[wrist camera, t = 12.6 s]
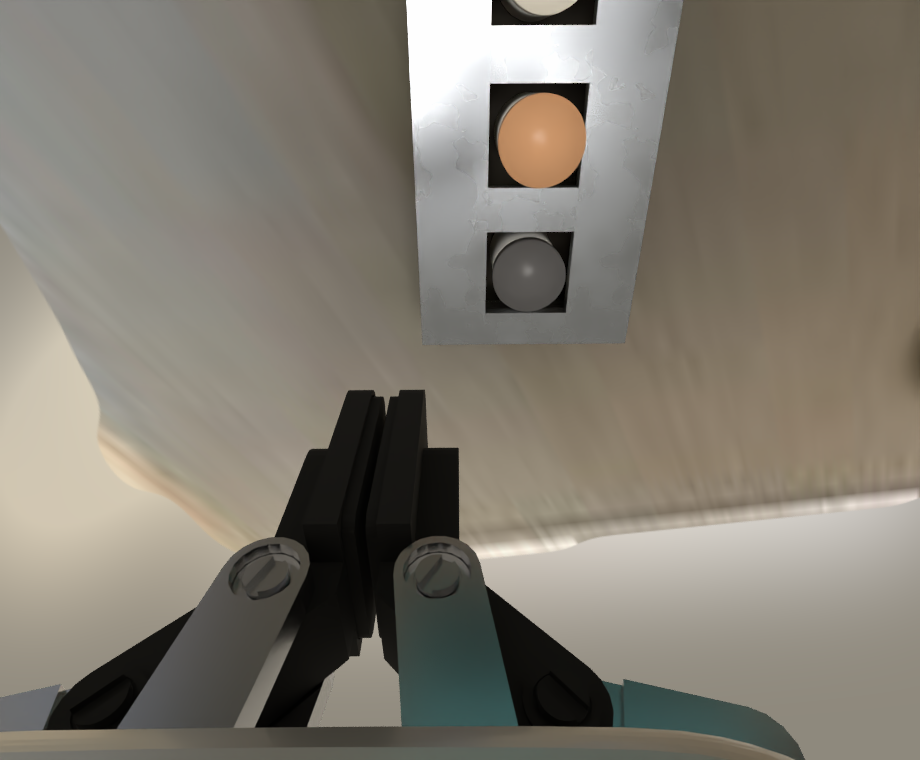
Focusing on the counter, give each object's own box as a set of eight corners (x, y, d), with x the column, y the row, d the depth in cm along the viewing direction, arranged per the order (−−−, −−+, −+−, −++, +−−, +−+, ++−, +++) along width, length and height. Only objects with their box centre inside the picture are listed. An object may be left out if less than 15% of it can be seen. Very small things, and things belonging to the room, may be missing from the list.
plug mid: (569, 89, 32) (591, 92, 27) (562, 170, 34) (581, 188, 29) (493, 90, 32) (500, 93, 27) (491, 170, 34) (497, 188, 29)
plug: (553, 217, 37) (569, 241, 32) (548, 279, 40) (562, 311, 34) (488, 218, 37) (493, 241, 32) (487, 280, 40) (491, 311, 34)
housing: (667, -139, 28) (715, -187, 23) (603, 309, 42) (624, 343, 36) (408, -138, 28) (397, -185, 23) (426, 310, 41) (422, 344, 36)
